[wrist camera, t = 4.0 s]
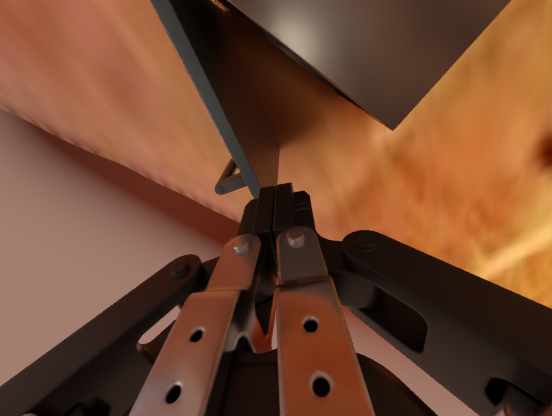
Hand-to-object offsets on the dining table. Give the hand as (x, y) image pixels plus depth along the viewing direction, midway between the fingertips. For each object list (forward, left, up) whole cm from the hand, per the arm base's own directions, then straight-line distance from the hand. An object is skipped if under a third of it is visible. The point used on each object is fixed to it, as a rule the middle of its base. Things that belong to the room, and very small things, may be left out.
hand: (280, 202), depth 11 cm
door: (-6, -3, -24) cm, 25 cm away
